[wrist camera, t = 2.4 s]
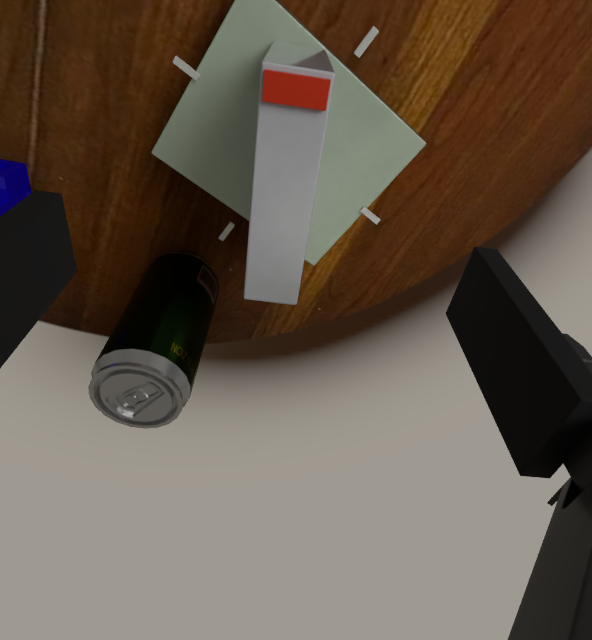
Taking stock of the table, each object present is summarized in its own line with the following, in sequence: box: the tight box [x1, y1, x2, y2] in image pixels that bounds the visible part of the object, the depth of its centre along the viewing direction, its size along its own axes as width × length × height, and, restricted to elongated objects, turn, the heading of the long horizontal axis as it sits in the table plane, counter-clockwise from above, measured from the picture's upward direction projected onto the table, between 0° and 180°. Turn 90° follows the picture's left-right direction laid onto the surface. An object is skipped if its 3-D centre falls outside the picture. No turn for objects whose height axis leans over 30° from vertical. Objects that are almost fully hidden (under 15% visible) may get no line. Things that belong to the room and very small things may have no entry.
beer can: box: [89, 252, 219, 428], centre depth 28 cm, size 5×5×12 cm
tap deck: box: [151, 0, 426, 266], centre depth 25 cm, size 14×14×3 cm
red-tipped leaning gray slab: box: [244, 41, 335, 305], centre depth 21 cm, size 10×3×8 cm, turn 172°
